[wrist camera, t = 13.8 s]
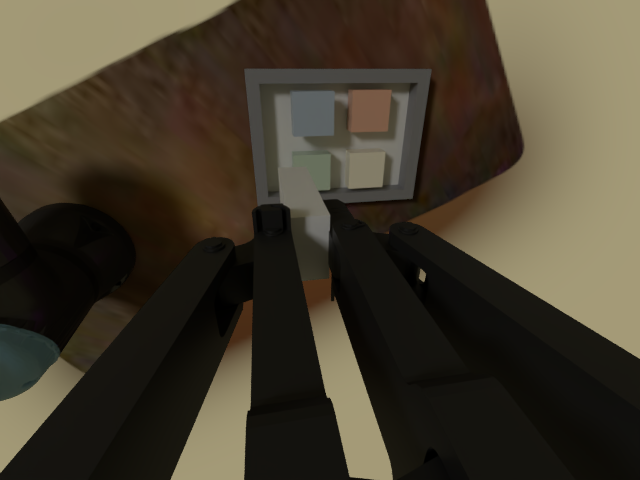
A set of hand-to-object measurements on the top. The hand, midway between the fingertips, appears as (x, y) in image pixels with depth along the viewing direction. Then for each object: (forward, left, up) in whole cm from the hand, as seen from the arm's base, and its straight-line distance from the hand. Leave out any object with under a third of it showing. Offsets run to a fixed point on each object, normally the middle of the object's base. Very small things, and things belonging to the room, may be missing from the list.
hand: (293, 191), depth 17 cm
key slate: (+5, +1, -28) cm, 28 cm away
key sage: (+5, -7, -29) cm, 31 cm away
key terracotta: (+13, +1, -29) cm, 32 cm away
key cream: (+13, -7, -29) cm, 33 cm away
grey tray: (+9, -3, -30) cm, 32 cm away
